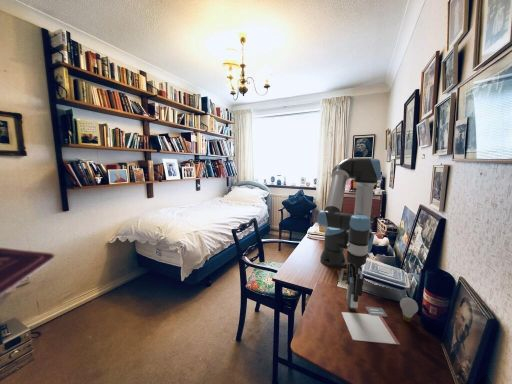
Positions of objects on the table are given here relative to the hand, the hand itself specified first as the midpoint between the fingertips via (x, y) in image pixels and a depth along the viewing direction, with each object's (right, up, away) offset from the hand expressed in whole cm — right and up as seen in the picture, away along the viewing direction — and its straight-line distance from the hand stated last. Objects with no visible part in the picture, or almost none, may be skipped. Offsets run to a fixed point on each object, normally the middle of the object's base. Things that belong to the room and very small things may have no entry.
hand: (351, 302), depth 93 cm
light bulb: (+19, -4, -6) cm, 21 cm away
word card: (+10, -3, -1) cm, 10 cm away
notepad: (+2, -4, -10) cm, 11 cm away
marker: (0, -3, 0) cm, 3 cm away
